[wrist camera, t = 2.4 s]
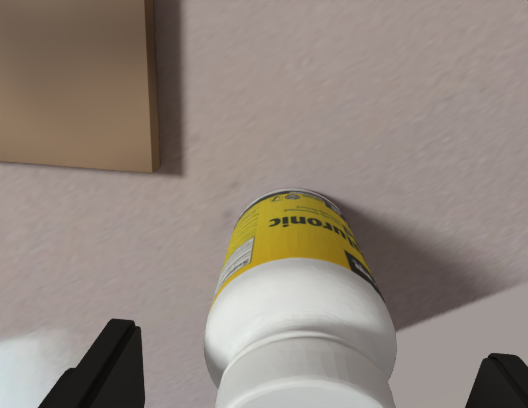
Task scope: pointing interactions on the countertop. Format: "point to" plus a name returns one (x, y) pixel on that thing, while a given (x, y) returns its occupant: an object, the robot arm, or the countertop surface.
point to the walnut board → (79, 84)
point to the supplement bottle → (298, 312)
